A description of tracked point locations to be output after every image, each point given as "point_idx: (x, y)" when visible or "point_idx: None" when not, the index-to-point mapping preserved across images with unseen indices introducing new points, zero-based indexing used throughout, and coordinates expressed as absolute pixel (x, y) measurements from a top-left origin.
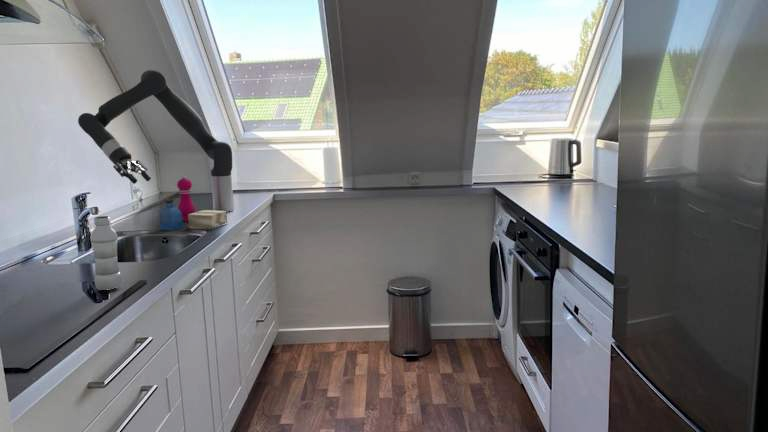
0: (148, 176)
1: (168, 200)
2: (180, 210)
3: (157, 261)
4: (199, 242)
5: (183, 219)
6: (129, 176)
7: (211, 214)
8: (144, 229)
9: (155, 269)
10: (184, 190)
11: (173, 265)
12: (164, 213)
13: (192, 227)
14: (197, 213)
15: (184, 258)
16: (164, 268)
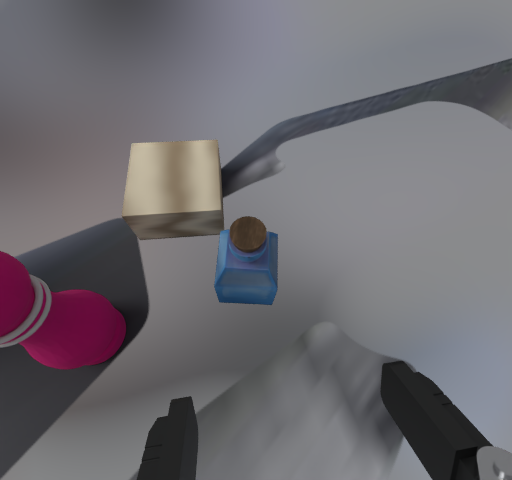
0: (188, 418)
1: (263, 224)
2: (110, 327)
3: (479, 106)
4: (342, 122)
5: (123, 325)
6: (475, 438)
7: (198, 149)
8: (294, 363)
9: (504, 85)
10: (31, 286)
11: (473, 77)
12: (275, 261)
13: (223, 221)
14: (194, 194)
15: (438, 85)
16: (491, 78)
